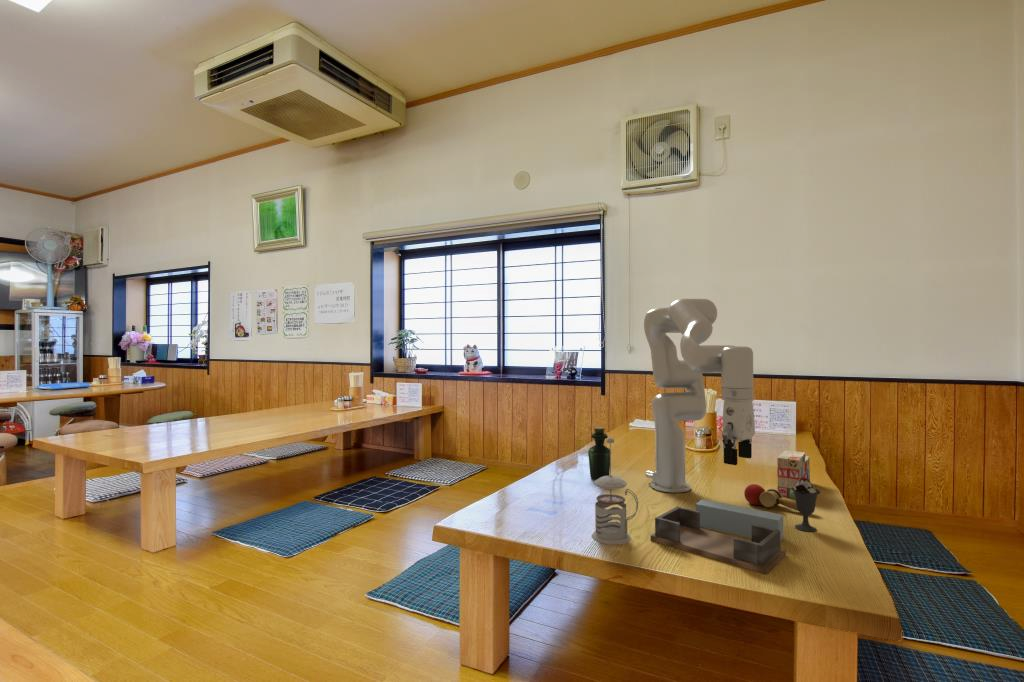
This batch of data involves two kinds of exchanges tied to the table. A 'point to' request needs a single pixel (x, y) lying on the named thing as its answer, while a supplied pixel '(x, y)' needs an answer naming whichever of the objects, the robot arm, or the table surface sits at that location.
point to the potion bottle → (599, 455)
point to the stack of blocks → (791, 471)
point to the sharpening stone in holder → (719, 541)
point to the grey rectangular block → (736, 518)
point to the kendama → (766, 497)
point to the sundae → (805, 501)
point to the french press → (611, 511)
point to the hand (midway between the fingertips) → (737, 460)
